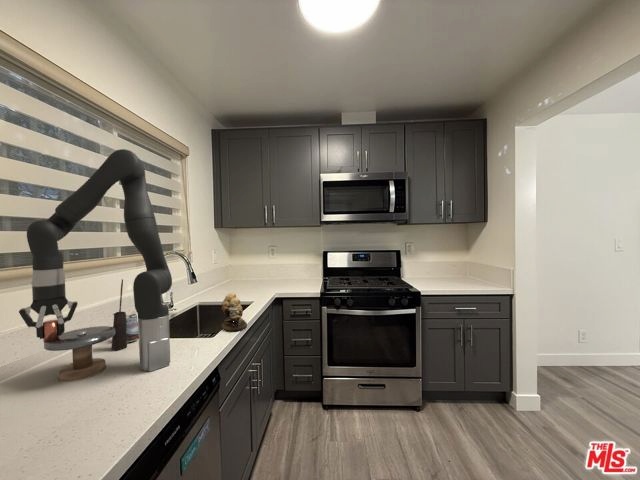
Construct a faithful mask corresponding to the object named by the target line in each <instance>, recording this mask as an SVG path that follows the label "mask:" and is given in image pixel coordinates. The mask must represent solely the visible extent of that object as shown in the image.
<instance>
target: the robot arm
mask: <svg viewBox="0 0 640 480" xmlns="http://www.w3.org/2000/svg"><path fill="white" fill-rule="evenodd" d="M146 180H147V179H146V171H145V165H144V163H143V162H142V160H141V159H140V157H138V155H137V154H136V153H134V152H133V151H132V150H129V149H124V148H121V149H117V150H115V151H113V152H112V153H111V154H110V155H109V156H108V157H107V158H106V159H105V160H104V161H103V163H102V164H101V165H100V166H99V167H98V168H97V169H96V171H94V173H92V175H91V176H90V177H88V179H87V180H86V181H85V182H84V183H83V184H82V185H81V186H80V187H79V188H78V189H77V190H75V191H74V192H73V193H71V194H70V195H69V196H68V197H66V198H65V199H64V200H63V201H62V202H61V203H59V204H58V205H57V206H56V207H55V210H54V213H53V214H51V216H50V217H49V218H47V219H45V220H44V219H43V220H41V219H40V220H35V221H33V222H31V223H30V224H29V225H28V227H27V230H26V241H27V243H28V247H29V250H30V253H31V256H32V257H31V258H32V261H31V263H32V264H31V265H32V273H31V281H30V282H31V290H32V291H31V292H32V293H31V295H32V303H31V304H30V305H29V306H26V307H22V308H20V309H19V310H18V313H19V315H20V317H21V318H22V320H23V321H24V323H25V324H26V326H27V327H28V328H31V327H32V328H35V330H36V331H35V332H36V337H37V338H39V339H40V340H42V339H43V322H44V318H45V317H47V316H50V315H52V316H54V315H55V318H56V320H58V334H59V336H60V335H62V333H65V332H66V330H65V328H66V327H65V323H67V322H70V321H71V320H72V318H73V316H74V314H75V311H76V309H77V307H78V301H69V300H68V298H66V297H67V296H66V294H67V293H66V273H65V270H64V254H63V252H61V251H60V249H59V245H58V244H59V243H58V242H59V241H61V240H62V239H64V238H65V237H66V236H67V235H68V234H69V233H70V232H71V231H72V229H74V227H75V226H77V224H78V223H79V222H80V221H81V220H82V219H84V218H85V217H86V216H87V215H89V214H90V213H91V212H92V211H93V210H94V209H95V208H96V207H97V206H98V205H99V204H100V203H101V201H102V199H103V198H104V196H105V195H106V194H107V192H108V191H109V190H110V189H111V188H112V187H113V186H114V185H115V184H117V183H118V182H119V181H120V185H121V187H122V191H123V195H124V196H123V197H124V205H123V222H124V225H125V229H126V232H127V235H128V238H129V240H130V242H131V243H132V244H133V246H135V248H136V250H137V251H138V252H139V253H140V255H141V256H142V258H143V261H144V264H145V268H146V271H142V272H140V273H138V274H137V275H136V276H135V277H134V281H133V285H132V287H133V288H132V289H133V301H134V309H135V312H136V313H137V321H138V330H139V338H138V354H139V356H138V357H139V369H140V371H148V372H153V371H157V370H159V369H161V368H165V367H168V366H170V363H171V345H170V344H171V343H170V341H171V339H170V315H169V314H170V309H169V306H168V305H166V304H163V303H162V296H161V295H163V294H166V293H167V292H169V291H170V290H171V288H172V285H173V278H172V273H171V270H170V268H169V265H168V263H167V260H166V257H165V253H164V250H163V245H162V242H161V238H160V234H159V228H158V225H157V224H158V223H157V220H156V216H155V213H154V209H153V206H152V202H151V199H150V196H149V193H148V187H147V181H146ZM66 306H68V309H69V311H68V313H67V315H66V316H65V317H64V315H63V312H62V310H63V309H64V308H65V307H66ZM31 310H32V311H34V312H35V313H37V315H38V318H37V320H36V321H34V320H33V318H32V317H31V315H30V314H31V313H32V312H31Z"/></svg>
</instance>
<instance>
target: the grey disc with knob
mask: <svg viewBox="0 0 640 480" xmlns="http://www.w3.org/2000/svg"><path fill="white" fill-rule="evenodd" d="M58 324H59V322H58V319H51V320H46V321H43V322H42V326H43V341H42V342H43V349H44V350H46V351H50V352H51V351H53V352H59V351H60V352H61V351H70V350H72V349H77V348H82V347H86V346H90V345H92V346H94V345H97V344H99V343H102V342H105V341H108V340H109V339H112V337H113V336H114V335H115V328H114V327H113V326H108V325H103V326H102V325H101V326H89V327H83V328H78V329H74V330H73V329H72V330H70V331H64V333H62V335H60V336H59V334H58Z"/></svg>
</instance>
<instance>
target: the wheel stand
mask: <svg viewBox="0 0 640 480" xmlns="http://www.w3.org/2000/svg"><path fill="white" fill-rule="evenodd" d="M71 350H72V351H71V352H72V353H71V354H72V363H70V364H68V365H65V366H63V367H62V368H61V369H60V370H58V373H57V374H58V380H59V381H60V382H75V381H79V380H84V379H87V378H90V377H93V376H95V375H98V374H100V373H102V372H103V371H104V370H105V369H106V368H107V363H106V362H107V361H106V359H105V358H100V357H95V358H93V345H90V346H86V347H82V348H77V349H71Z"/></svg>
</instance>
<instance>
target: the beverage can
mask: <svg viewBox="0 0 640 480" xmlns="http://www.w3.org/2000/svg"><path fill="white" fill-rule="evenodd" d="M126 324H127V327H126V329H127V332H126V333H127V343H132V342H135V341H137V340H139V330H138V314H136V313H135V312H131V313H126Z"/></svg>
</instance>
